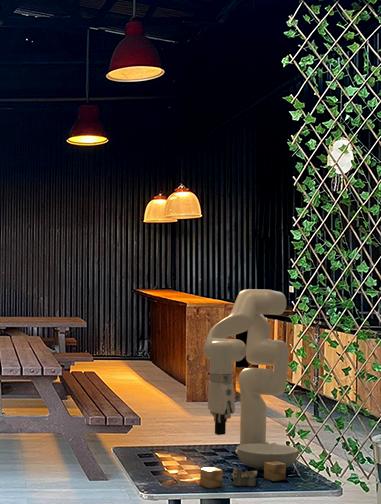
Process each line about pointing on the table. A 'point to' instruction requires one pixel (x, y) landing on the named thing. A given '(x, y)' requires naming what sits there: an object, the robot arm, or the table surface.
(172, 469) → the table surface
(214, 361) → the robot arm
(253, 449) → the serving bowl
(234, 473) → the tan cratered rock
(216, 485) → the maple block
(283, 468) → the maple block
